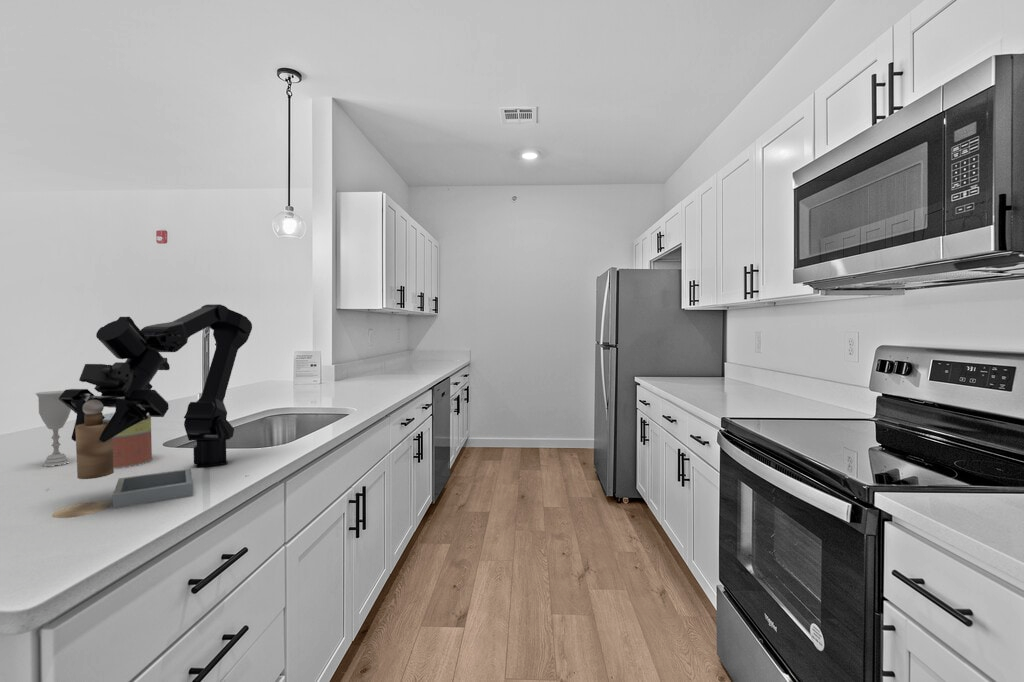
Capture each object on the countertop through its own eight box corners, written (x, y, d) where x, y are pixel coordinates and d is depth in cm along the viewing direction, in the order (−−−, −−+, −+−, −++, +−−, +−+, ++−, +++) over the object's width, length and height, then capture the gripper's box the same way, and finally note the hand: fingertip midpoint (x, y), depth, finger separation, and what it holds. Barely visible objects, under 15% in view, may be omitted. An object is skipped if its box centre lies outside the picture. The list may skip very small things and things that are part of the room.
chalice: (81, 461, 127) (79, 391, 126) (49, 469, 120) (47, 394, 120) (63, 459, 129) (61, 390, 129) (30, 466, 123) (28, 393, 122)
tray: (190, 482, 109) (190, 468, 109) (192, 498, 99) (192, 483, 99) (119, 493, 102) (118, 478, 102) (113, 511, 92) (112, 494, 92)
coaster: (111, 502, 97) (111, 499, 97) (107, 514, 91) (106, 511, 91) (56, 510, 93) (56, 507, 93) (47, 524, 86) (47, 521, 86)
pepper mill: (114, 468, 97) (111, 396, 96) (112, 475, 93) (109, 400, 92) (79, 473, 94) (76, 399, 93) (75, 481, 90) (72, 403, 89)
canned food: (163, 458, 131) (162, 412, 130) (121, 470, 119) (120, 420, 119) (127, 455, 133) (126, 411, 132) (83, 467, 122) (82, 418, 121)
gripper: (65, 347, 97) (6, 415, 87) (154, 347, 95) (104, 416, 85) (104, 382, 105) (54, 448, 95) (187, 383, 103) (145, 450, 93)
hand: (87, 440), depth 92 cm, fingers closed on pepper mill, 5 cm apart
